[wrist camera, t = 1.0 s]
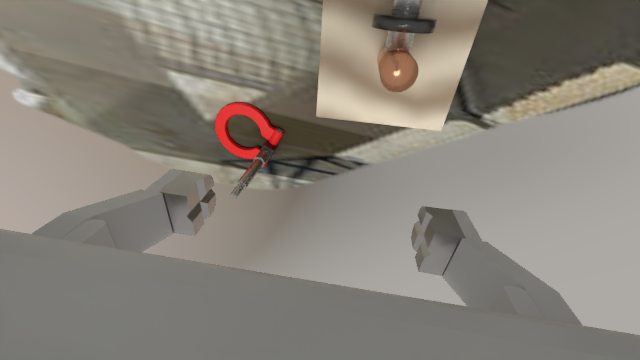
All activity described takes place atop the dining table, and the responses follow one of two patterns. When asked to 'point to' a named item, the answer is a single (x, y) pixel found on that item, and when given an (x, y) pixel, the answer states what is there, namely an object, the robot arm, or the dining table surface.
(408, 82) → the flanged metal rod
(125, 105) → the dining table surface
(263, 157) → the tow hook
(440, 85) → the base board
